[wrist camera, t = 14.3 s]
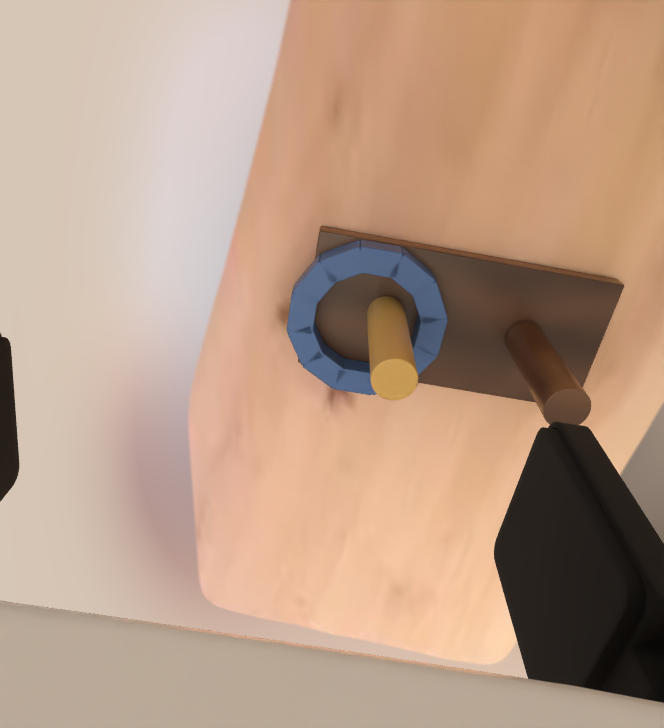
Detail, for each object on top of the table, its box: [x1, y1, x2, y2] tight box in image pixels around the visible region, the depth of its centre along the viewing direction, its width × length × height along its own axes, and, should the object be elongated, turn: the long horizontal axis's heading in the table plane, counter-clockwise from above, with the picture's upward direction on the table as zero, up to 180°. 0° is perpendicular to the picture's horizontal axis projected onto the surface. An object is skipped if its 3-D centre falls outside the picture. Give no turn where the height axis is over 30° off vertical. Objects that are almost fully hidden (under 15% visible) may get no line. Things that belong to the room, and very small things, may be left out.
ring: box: [287, 240, 448, 395], centre depth 38 cm, size 10×10×2 cm
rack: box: [298, 226, 624, 425], centre depth 35 cm, size 9×19×10 cm, turn 80°
